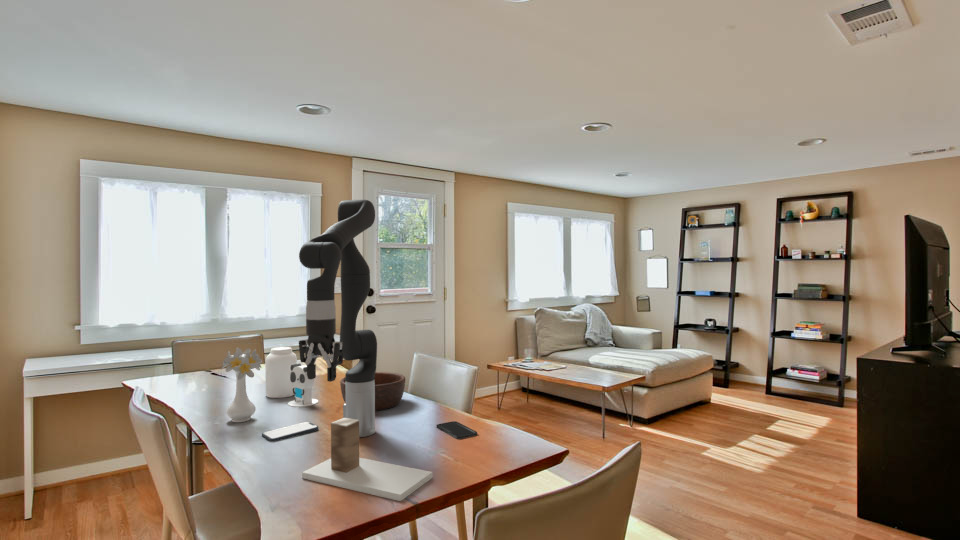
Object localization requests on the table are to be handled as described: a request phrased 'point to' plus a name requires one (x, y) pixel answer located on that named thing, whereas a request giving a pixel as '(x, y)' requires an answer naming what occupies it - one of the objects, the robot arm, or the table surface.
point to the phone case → (290, 431)
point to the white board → (372, 478)
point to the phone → (456, 430)
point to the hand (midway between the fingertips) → (321, 379)
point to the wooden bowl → (384, 389)
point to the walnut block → (344, 444)
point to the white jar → (279, 372)
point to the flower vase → (241, 383)
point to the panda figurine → (301, 387)
